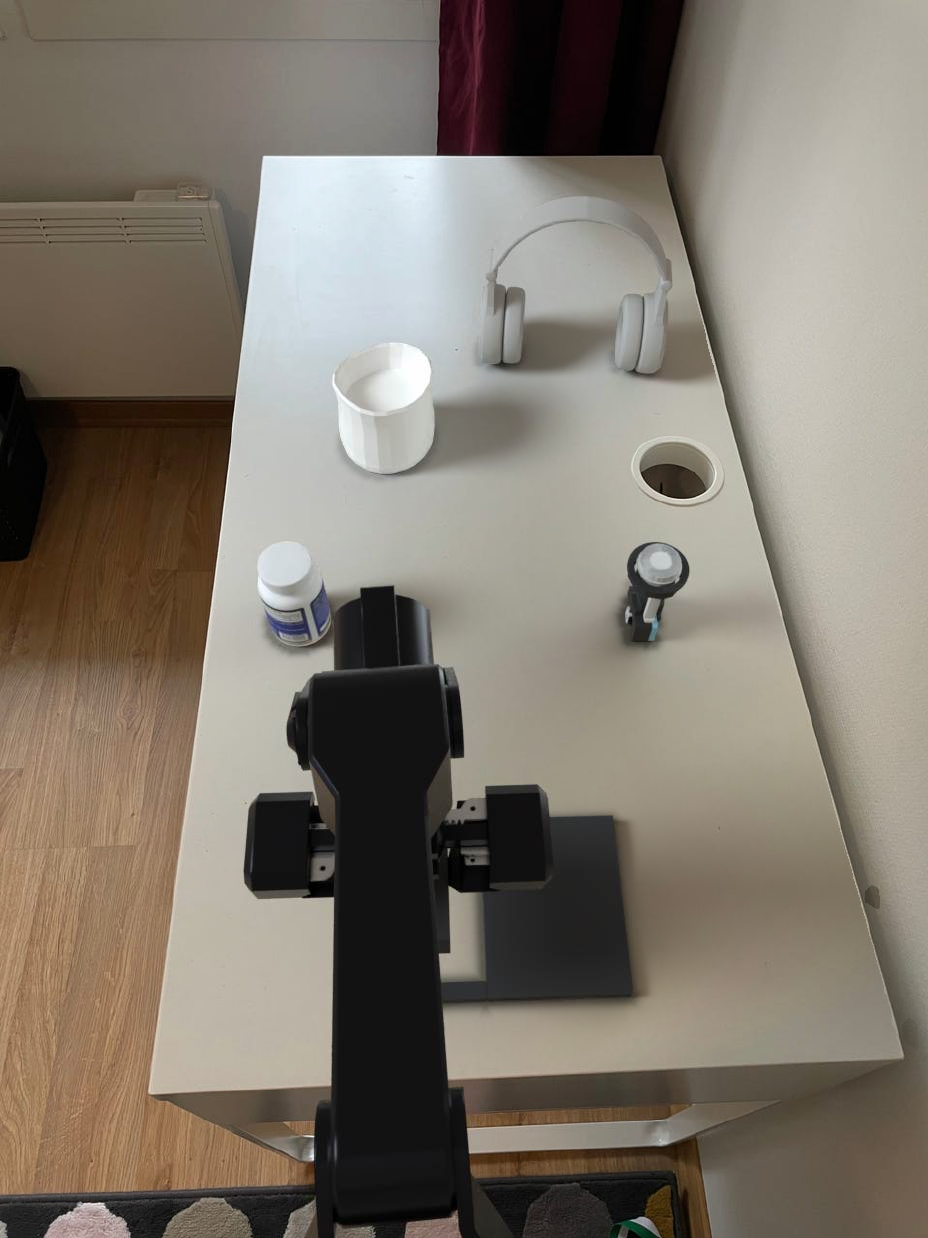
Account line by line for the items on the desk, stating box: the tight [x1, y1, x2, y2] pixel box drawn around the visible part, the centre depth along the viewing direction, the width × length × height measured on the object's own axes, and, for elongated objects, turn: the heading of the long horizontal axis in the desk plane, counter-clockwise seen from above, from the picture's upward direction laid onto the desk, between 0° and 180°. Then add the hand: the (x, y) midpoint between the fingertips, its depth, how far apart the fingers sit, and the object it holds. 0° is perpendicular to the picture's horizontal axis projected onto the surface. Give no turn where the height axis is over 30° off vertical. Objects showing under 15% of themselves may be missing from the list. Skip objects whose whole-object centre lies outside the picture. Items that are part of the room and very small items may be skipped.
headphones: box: [477, 195, 673, 375], centre depth 100 cm, size 20×8×19 cm, turn 85°
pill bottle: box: [256, 540, 332, 647], centre depth 86 cm, size 6×6×10 cm
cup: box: [331, 341, 436, 475], centre depth 97 cm, size 10×10×10 cm
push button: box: [624, 541, 691, 642], centre depth 86 cm, size 7×5×10 cm
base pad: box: [441, 814, 634, 1004], centre depth 76 cm, size 14×18×1 cm
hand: (406, 878), depth 67 cm, fingers closed on foam pad, 6 cm apart
